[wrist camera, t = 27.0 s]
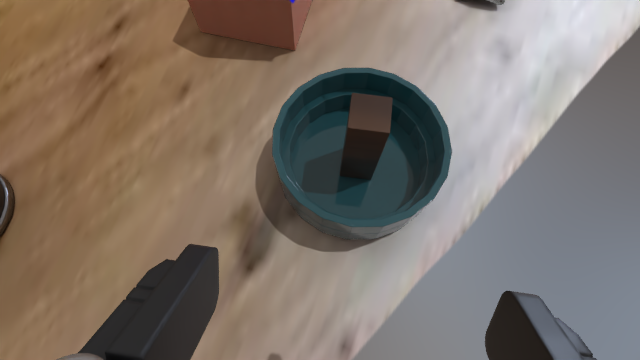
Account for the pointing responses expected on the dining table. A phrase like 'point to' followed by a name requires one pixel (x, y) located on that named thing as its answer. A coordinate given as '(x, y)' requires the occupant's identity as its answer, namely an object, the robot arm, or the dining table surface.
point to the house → (253, 20)
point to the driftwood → (497, 1)
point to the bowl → (327, 147)
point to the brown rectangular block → (365, 134)
